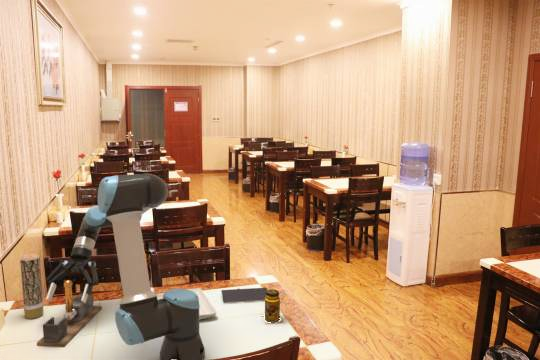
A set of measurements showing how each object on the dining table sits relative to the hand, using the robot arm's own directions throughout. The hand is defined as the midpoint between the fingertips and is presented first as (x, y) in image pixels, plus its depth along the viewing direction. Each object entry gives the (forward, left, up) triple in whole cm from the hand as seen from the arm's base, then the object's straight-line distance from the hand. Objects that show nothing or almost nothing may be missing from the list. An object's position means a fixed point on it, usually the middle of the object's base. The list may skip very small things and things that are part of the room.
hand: (65, 301), depth 167 cm
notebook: (-13, -73, -12) cm, 75 cm away
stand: (+3, -3, -12) cm, 12 cm away
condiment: (-37, -70, -12) cm, 80 cm away
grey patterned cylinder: (+20, +8, -12) cm, 25 cm away
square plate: (-9, -41, -12) cm, 44 cm away
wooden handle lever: (+7, -6, -8) cm, 13 cm away
